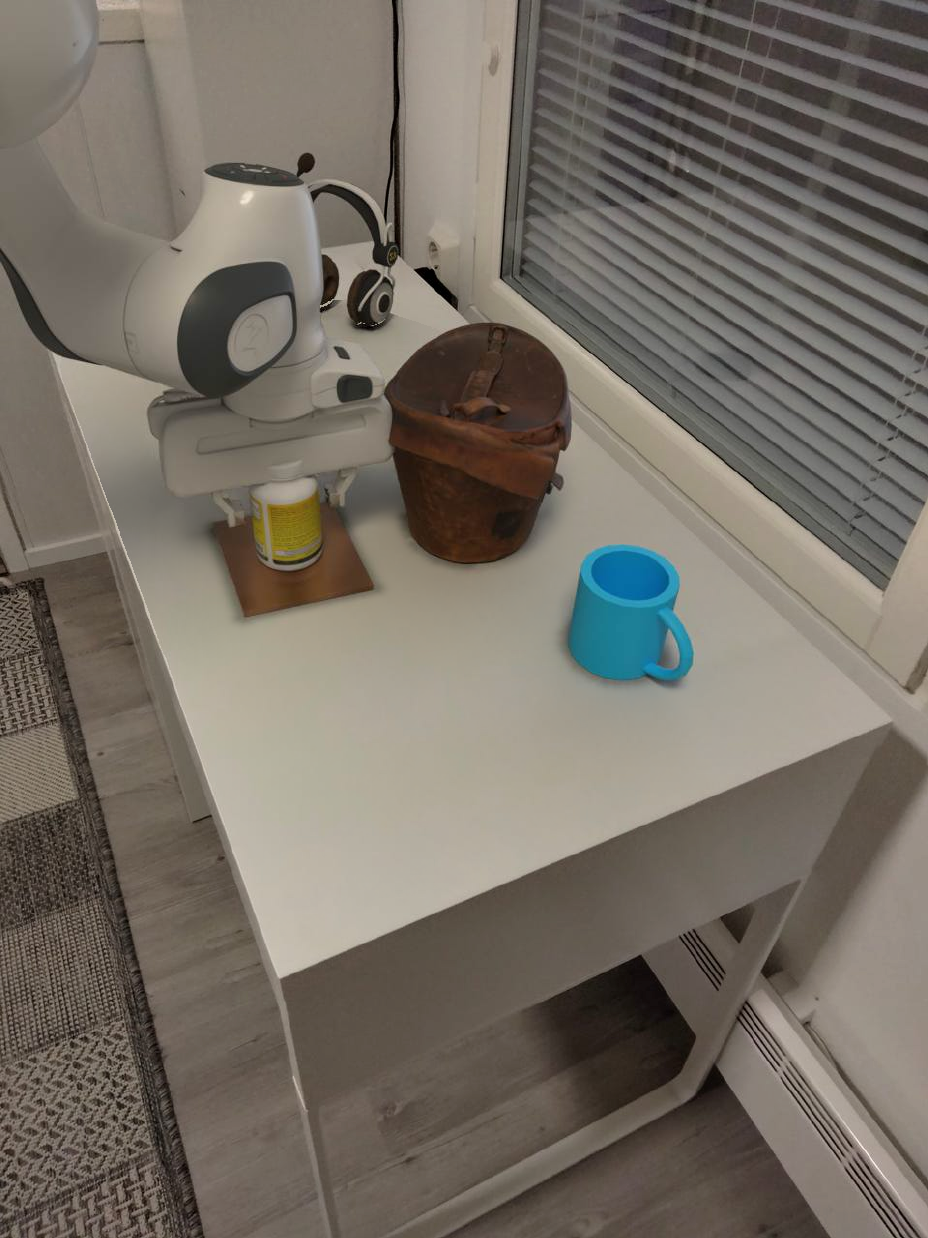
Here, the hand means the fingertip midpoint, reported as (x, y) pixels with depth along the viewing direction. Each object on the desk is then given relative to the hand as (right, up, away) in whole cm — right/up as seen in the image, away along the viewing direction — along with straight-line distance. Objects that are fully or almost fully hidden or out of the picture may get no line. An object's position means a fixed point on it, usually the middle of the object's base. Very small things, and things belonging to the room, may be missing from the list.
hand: (286, 513), depth 86 cm
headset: (0, +32, +43) cm, 53 cm away
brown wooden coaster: (0, -4, +3) cm, 5 cm away
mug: (+31, -13, -5) cm, 34 cm away
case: (+17, -1, +8) cm, 19 cm away
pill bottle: (0, -4, +3) cm, 5 cm away
